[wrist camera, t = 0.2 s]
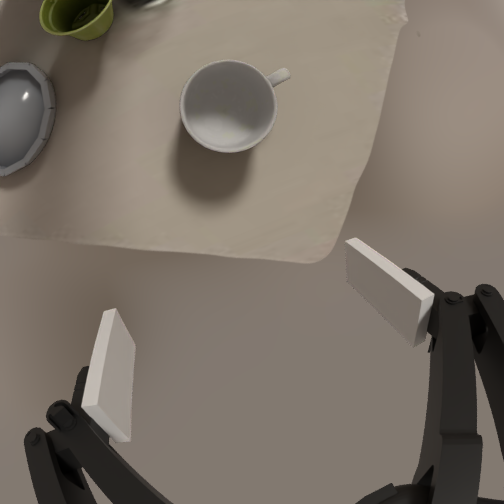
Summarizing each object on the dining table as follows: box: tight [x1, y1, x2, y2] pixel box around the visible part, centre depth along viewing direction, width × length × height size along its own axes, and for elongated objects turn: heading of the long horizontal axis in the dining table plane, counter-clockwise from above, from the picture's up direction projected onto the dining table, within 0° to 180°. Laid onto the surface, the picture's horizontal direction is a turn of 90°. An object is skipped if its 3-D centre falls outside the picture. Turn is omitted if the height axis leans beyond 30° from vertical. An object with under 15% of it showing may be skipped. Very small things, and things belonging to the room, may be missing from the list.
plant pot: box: [39, 0, 114, 41], centre depth 23 cm, size 9×9×9 cm
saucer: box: [0, 62, 56, 176], centre depth 27 cm, size 16×16×2 cm
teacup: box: [180, 60, 290, 153], centre depth 33 cm, size 14×11×8 cm
